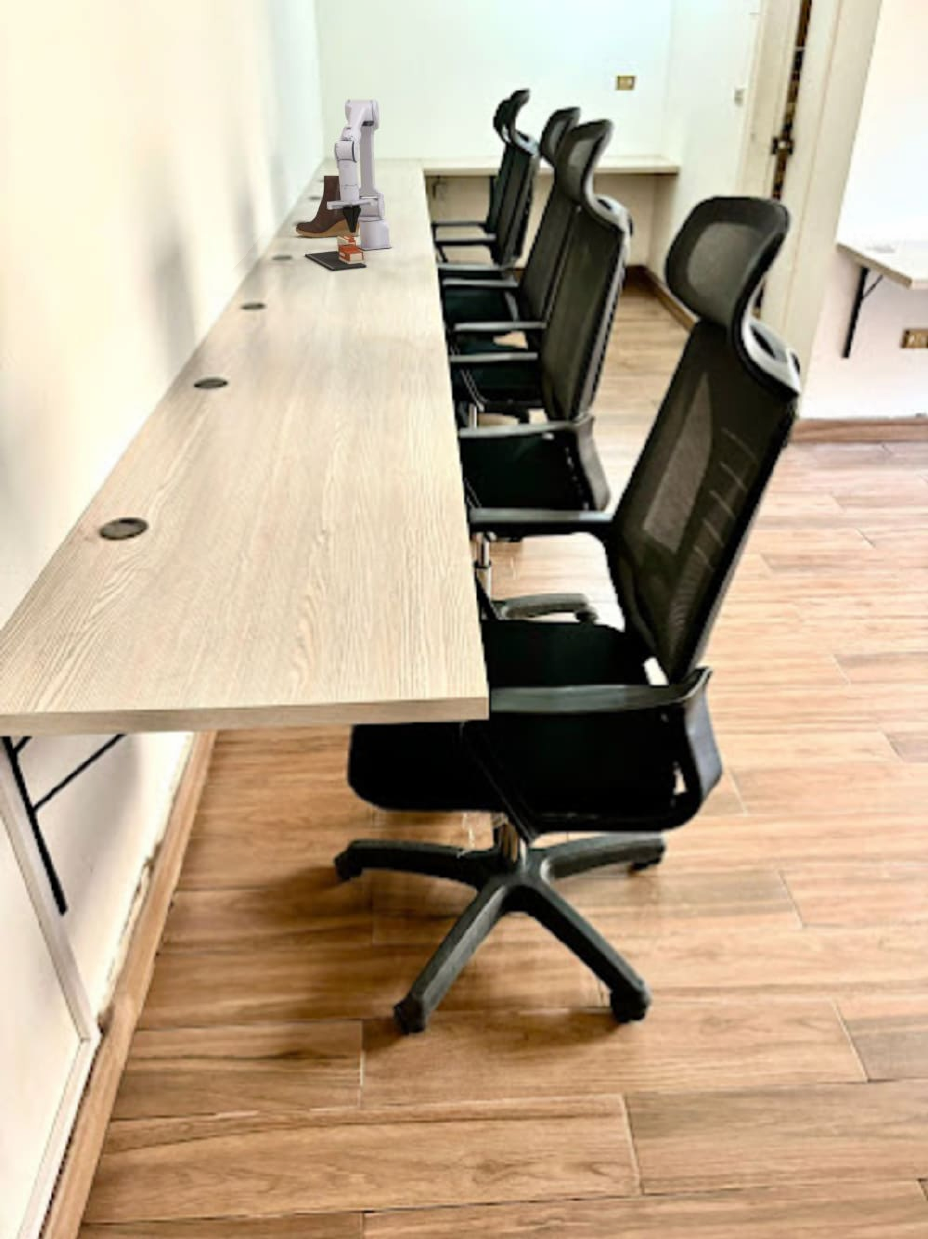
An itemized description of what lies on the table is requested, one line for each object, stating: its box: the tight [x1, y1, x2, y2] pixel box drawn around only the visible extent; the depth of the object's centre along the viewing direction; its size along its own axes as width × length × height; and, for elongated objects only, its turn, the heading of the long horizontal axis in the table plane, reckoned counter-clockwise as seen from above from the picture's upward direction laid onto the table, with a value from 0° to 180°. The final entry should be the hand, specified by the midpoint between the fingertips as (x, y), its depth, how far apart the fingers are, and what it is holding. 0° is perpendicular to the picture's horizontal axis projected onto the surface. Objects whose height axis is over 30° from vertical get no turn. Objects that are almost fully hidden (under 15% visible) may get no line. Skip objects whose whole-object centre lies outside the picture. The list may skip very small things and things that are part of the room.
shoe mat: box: [304, 250, 367, 272], centre depth 301 cm, size 11×28×1 cm, turn 25°
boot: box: [295, 174, 360, 239], centre depth 337 cm, size 9×24×20 cm, turn 84°
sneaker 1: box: [336, 236, 357, 252], centre depth 310 cm, size 4×10×5 cm, turn 25°
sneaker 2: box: [337, 244, 365, 264], centre depth 298 cm, size 4×10×5 cm
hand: (352, 232), depth 296 cm, fingers closed
